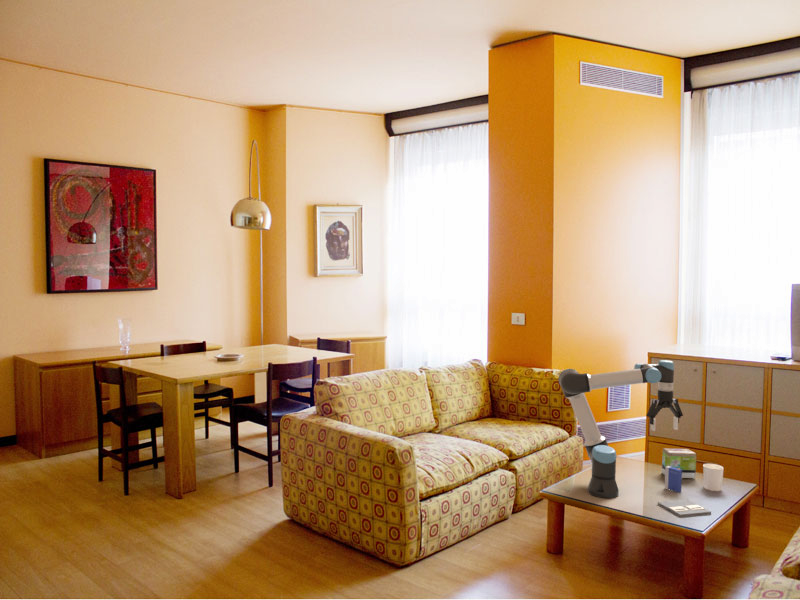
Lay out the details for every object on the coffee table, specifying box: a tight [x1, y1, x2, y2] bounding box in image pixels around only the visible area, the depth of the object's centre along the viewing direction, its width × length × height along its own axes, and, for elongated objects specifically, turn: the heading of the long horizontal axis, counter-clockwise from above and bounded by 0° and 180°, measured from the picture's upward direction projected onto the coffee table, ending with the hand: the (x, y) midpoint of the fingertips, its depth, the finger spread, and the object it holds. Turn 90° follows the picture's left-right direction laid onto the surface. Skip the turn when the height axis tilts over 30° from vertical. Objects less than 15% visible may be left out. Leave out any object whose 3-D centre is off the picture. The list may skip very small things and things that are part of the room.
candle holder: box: [702, 463, 724, 492], centre depth 323 cm, size 10×10×12 cm
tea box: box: [661, 447, 697, 480], centre depth 343 cm, size 15×10×15 cm
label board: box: [657, 499, 712, 518], centre depth 293 cm, size 17×16×2 cm
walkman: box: [664, 466, 683, 493], centre depth 320 cm, size 8×3×12 cm, turn 33°
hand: (664, 430), depth 320 cm, fingers open, 13 cm apart
